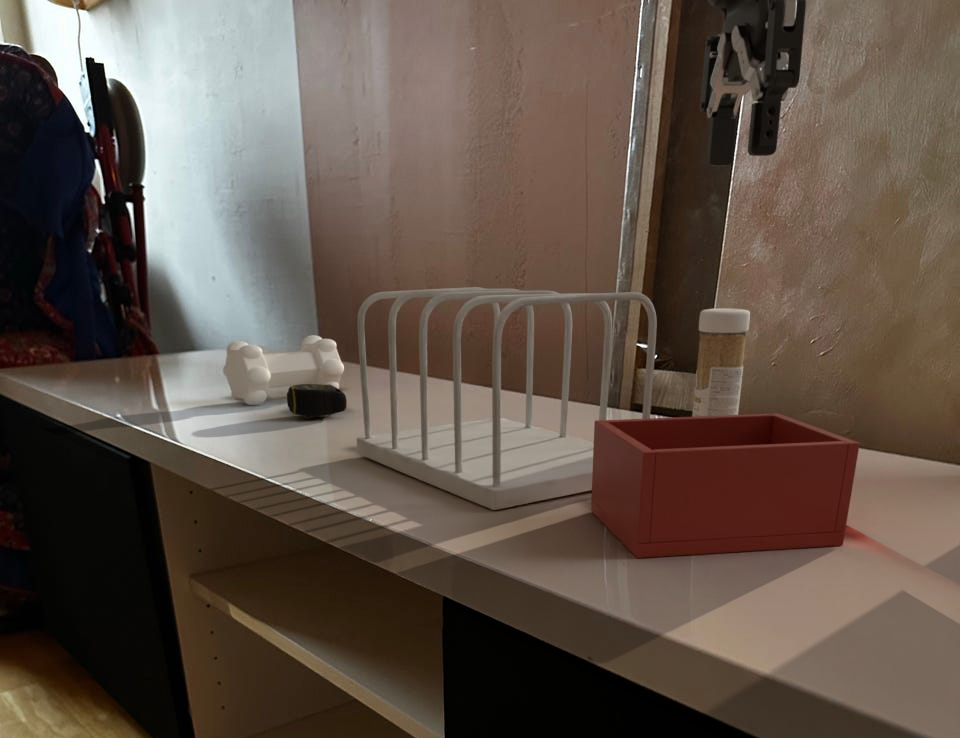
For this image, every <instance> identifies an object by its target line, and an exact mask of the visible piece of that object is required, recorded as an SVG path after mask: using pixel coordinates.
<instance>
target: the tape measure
mask: <svg viewBox="0 0 960 738" xmlns="http://www.w3.org/2000/svg"><path fill="white" fill-rule="evenodd" d="M347 402H348V401H347V396H346V394H345V393H344V391H342V390H341V389H340V388H339V389H338V388H336V387H334V386H332V385H330V384H327V385H322V384H300V385H292V386H289V388H288V390H287V392H286V403H287V407H288V409H289V411H290V413H292V414H294V415H297V416H302V417H303V418H305V419H307V420H309V419H313V418H315V417H323V416H329V417H331V415H334V414H338V413H342V412H344V411H346V409H347Z"/></svg>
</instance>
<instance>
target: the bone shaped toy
mask: <svg viewBox="0 0 960 738" xmlns="http://www.w3.org/2000/svg"><path fill="white" fill-rule="evenodd" d="M225 352H226V356H225V357H226V359H225V365H224V366H223V369H222V370H223V371H222V372H223V375H224V376H225V378H226V381H227V383H228V386H229V389H230V391H231V394H230V395H231V398H233V399H234V400H236V401H241V402H244V403H245V404H247V405H248V406H259V405H262V404H263V403H265V401H266V400H267V396H268V389H274V388H284V387H291V386H293V385H300V384H322V385H327V384H330V385H332V386H334V387H336V388H338V389H339V390H340V382H341V381H340V380H341V378H342V375H343V373H344V371H345V365H344V363H343V362H342V360H341V357H340V355H339V351H338V349H337V342H336V341H335V340H333V339H331V338H322V337H321V336H320V335H316V334H311V335H308V336H306V337H304V339H302V341H301V349H300V350H298V351H287V352H275V353H264V354H263V349H262V348H261V347H260V346H258V345H255V344H249V343H248V342H245V341H241V340H236V341H232V342H230V344H228V345H227V347H226V351H225Z"/></svg>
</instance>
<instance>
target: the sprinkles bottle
mask: <svg viewBox="0 0 960 738" xmlns="http://www.w3.org/2000/svg"><path fill="white" fill-rule="evenodd" d="M750 320H751V312H750V310H748V309H742V308H731V307H729V308H728V307H727V308H725V307H723V308H718V307H717V308H707V309H702V310H701V311H700V312H699V320H698V331H699V342H698V344H699V345H698V354H697V364H696V372H695V381H694V392H693V402H692V403H693V404H692V414H691V417H698V416H723V415H739V411H740V410H739V408H740V399H741V392H742V383H743V375H744V374H743V373H744V360H745V358H744V357H745V347H746V340H747V339H746V338H747V336H748V334H747V332H749V330H750V329H749V328H750V322H751V321H750Z"/></svg>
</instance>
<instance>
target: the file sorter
mask: <svg viewBox="0 0 960 738" xmlns="http://www.w3.org/2000/svg"><path fill="white" fill-rule="evenodd" d="M415 298H430V299H429V301H428V302H427V303H426V304H425V306H424V307H423V310H422V312H421V314H420V318H419V328H418V329H419V330H418V346H419V347H418V348H419V349H418V350H419V351H418V353H419V355H418V356H419V389H420V390H419V394H420V399H419V401H420V427H419V428H411V429H406V430H405V429H404V430H399V414H398V379H397V376H398V375H397V344H396V343H397V340H396V339H397V336H396V333H397V326H396V325H397V316H398V312H399V311H400V309H401V307H402V306H403V305H404V304H405V303H406V302H407V301H409V300H411V299H415ZM386 299H395V301H394V302H393V304H392V305H391V308H390V310H389V314H388V330H387V331H388V333H387V334H388V358H389V360H388V362H389V363H388V365H389V393H390V395H389V396H390V398H389V399H390V421H391V422H390V426H391V432H390V431H389V432H383V433H377V434H371V432H372V431H371V429H372V424H371V411H370V397H369V396H370V395H369V382H368V381H369V380H368V368H367V356H366V355H367V351H366V350H367V349H366V337H365V319H366V318H365V317H366V313H367V311H368V309H369V308H370V306H371V305H373V304H374V303H375V302H377V301H380V300H386ZM454 300H456V301H460V300H467V301H465V303H464V304H463V305H462V306H461V307H460V308H459V311H458V312H457V314H456V316H455V319H454V322H453V330H452V331H453V332H452V362H453V363H452V367H453V368H452V371H453V372H452V374H453V376H452V377H453V378H452V379H453V381H452V382H453V423H448V424H441V425H432V426H429V418H428V417H429V413H428V408H429V407H428V406H429V403H428V401H429V399H428V350H427V349H428V321H429V317H430V315H431V313H432V311H433V310H434V309H435V308H436V307H437V306H438V305H439V304H441V303H443V302H445V301H454ZM617 301H618V302H619V301H620V302H621V301H636V302H638V303H640V304H641V305H642V306H643V307H644V310H645V312H646V314H647V322H648V329H647V330H648V331H647V344H646V346H647V347H646V361H645V362H646V364H645V375H644V391H643V401H642V415H641V416H642V417H641V419H648V418H651V409H652V399H653V397H652V396H653V387H654V386H653V385H654V372H655V358H656V357H655V356H656V345H657V344H656V343H657V327H658V323H657V322H658V320H657V314H656V309H655V306H654V304H653V302H652V301H651V299H650V298H649V297H648V296H647V295H645V294H643V293H641V292H637V291H636V292H635V291H630V292H629V291H626V292H603V293H591V292H590V293H588V292H587V293H585V292H584V293H583V292H581V293H580V292H579V293H576V292H575V293H573V292H572V293H560V292H557V291H554V290H520V289H517V288H510V287H509V288H508V287H507V288H484V287H478V286H477V287H453V288H431V289H412V290H395V291H394V290H393V291H381V292H380V291H379V292H376V293H372V294H371V295H369V296H368V297H367V298H366V299H365V300H364V301H363V302H362V304H361V305H360V307H359V310H358V312H357V321H356V324H357V344H358V357H359V370H360V371H359V372H360V386H361V388H360V389H361V400H362V415H363V427H364V428H363V429H364V435H363V436H362V435H361V436H358V437H356V454H358V455H360V456H362V457H364V458H367V459H369V460H372V461H374V462H376V463H379V464H382V465H384V466H386V467H389V468H391V469H393V470H395V471H398V472H400V473H403V474H405V475H408V476H410V477H412V478H415V479H417V480H419V481H421V482H424V483H427V484H429V485H431V486H433V487H436V488H439V489H441V490H444V491H446V492H449V493H450V494H454V495H456V496H458V497H461V498H463V499H466V500H468V501H470V502H472V503H475V504H478V505H480V506H483V507H485V508H488V509H490V510H492V511H496V510H501V509H506V508H511V507H515V506H521V505H526V504H530V503H534V502H540V501H545V500H551V499H555V498H559V497H565V496H570V495H575V494H579V493H584V492H589V491H592V473H593V449H594V441H592V440H587V439H585V438H580V437H577V436H573V435H569V434H567V427H568V426H567V425H568V411H569V394H570V377H571V361H572V341H573V340H572V338H573V337H572V335H573V315H572V309H571V306H570V304H579V303H580V304H581V303H594V304H595V305H597V306H598V308H599V309H600V310H601V312H602V315H603V320H604V333H603V334H604V336H603V351H602V354H603V355H602V369H601V372H602V373H601V384H600V398H599V399H600V400H599V401H600V402H599V412H598V420H607V413H608V412H607V411H608V397H609V383H610V368H611V353H612V338H613V317H612V312H611V308H610V306H609V304H608V303H607V302H617ZM489 304H491V306H492V309H493V321H494V324H493V331H492V355H491V356H492V357H491V358H492V361H491V365H492V367H491V369H492V372H491V373H492V375H491V376H492V378H491V379H492V380H491V381H492V385H491V386H492V388H491V389H492V392H491V393H492V394H491V395H492V398H491V400H492V412H491V413H492V414H491V415H492V416H491V417H492V418H484V419H478V420H477V419H476V420H470V421H469V420H468V421H463V417H462V415H463V414H462V410H463V408H462V407H463V406H462V404H463V403H462V352H461V349H462V348H461V347H462V346H461V340H462V339H461V338H462V337H461V336H462V329H463V328H462V326H463V323H464V320H465V319H466V316H467V314H468V313H470V311H471V310H472V309H474V308H475V307H477V306H481V305H489ZM500 304H506V305H505V306H504V307H503V308H502V309H500ZM547 305H548V306H549V305H560V306H561V308H562V310H563V313H564V324H565V325H564V345H563V347H564V348H563V365H562V367H563V368H562V384H561V405H560V423H559V432H557V431H553V430H551V429H547V428H543V427H538V426H535V425H532V424H533V387H534V386H533V384H534V349H535V347H534V342H535V340H534V339H535V313H534V308H533V307H534V306H547ZM522 307H523V308H524V307H525V310H526V316H527V329H526V331H527V333H526V335H527V336H526V338H527V339H526V377H525V378H526V381H525V382H526V383H525V385H526V386H525V388H526V389H525V423H524V422H519V421H515V420H511V419H508V418H503V417H501V416H502V414H501V411H502V410H501V409H502V408H501V405H502V403H501V402H502V401H501V399H502V334H503V331H504V330H503V329H504V326H505V323H506V321H507V320H508V318H509V317H510V315H511V314H512V313H513V312H514V311H516V310H518V309H521V308H522Z"/></svg>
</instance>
